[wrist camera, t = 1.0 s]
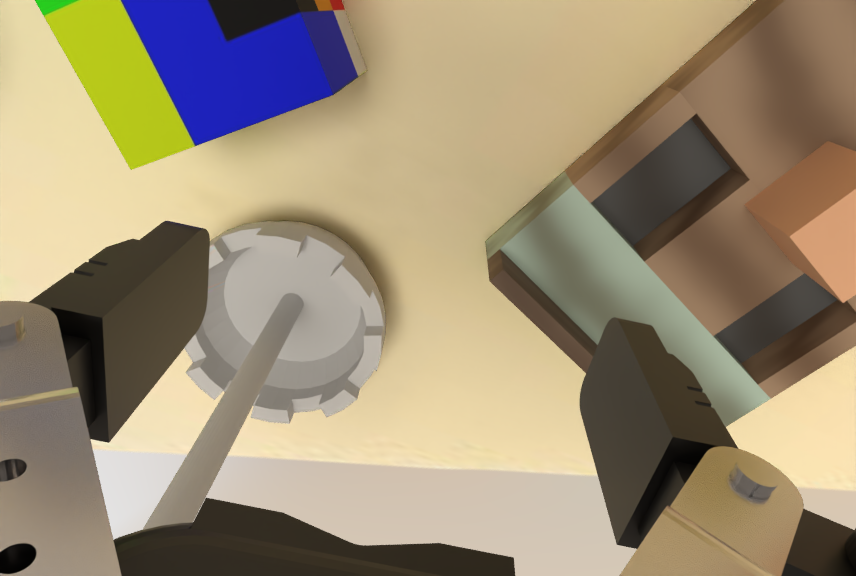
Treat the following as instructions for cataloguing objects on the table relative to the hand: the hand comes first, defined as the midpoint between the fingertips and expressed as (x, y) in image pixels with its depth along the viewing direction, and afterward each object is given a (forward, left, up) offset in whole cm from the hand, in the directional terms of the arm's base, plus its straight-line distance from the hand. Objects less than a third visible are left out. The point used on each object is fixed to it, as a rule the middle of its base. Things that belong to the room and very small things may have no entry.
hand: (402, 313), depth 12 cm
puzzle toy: (+4, -11, -25) cm, 28 cm away
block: (-11, +18, -22) cm, 31 cm away
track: (-7, +18, -25) cm, 32 cm away
